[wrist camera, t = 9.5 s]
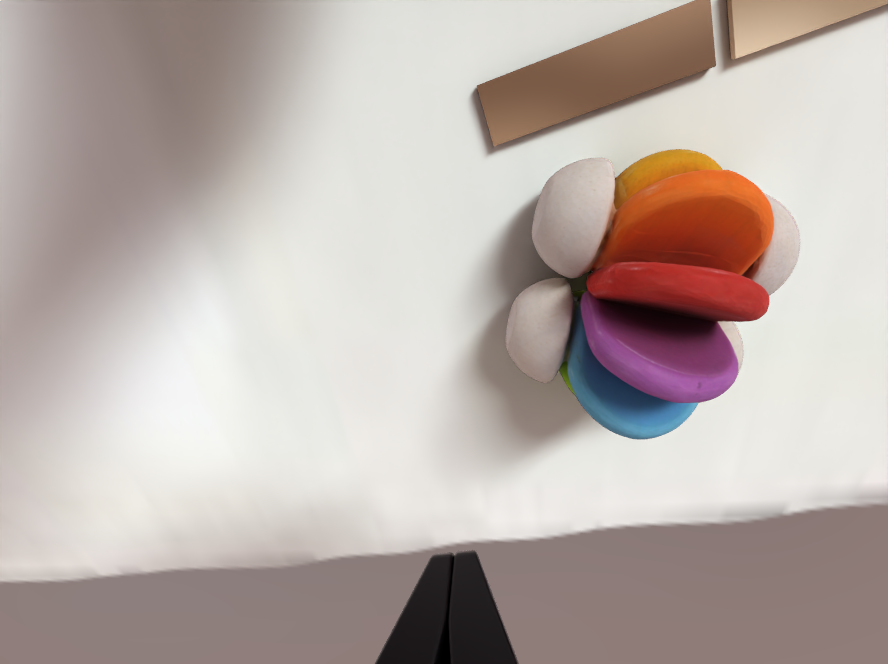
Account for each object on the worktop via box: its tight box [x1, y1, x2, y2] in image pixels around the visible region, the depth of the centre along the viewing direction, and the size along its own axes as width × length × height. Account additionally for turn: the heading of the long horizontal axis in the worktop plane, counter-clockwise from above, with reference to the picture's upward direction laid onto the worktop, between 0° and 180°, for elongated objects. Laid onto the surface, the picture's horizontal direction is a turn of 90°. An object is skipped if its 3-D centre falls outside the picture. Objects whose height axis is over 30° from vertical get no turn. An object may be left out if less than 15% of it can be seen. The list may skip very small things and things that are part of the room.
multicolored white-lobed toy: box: [506, 149, 800, 439], centre depth 16 cm, size 8×10×7 cm
